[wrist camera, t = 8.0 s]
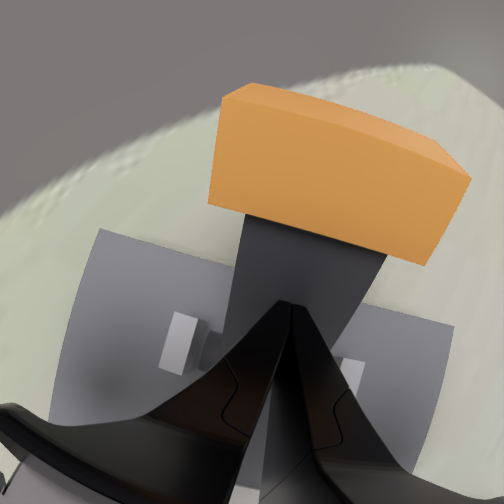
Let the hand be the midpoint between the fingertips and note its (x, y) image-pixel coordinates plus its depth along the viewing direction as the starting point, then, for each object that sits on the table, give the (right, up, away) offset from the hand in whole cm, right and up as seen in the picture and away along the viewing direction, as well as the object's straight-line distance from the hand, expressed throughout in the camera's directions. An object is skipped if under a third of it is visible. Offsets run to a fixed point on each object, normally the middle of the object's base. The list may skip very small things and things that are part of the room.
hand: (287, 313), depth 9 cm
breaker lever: (-1, -3, +3) cm, 5 cm away
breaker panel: (-2, -9, +8) cm, 13 cm away
